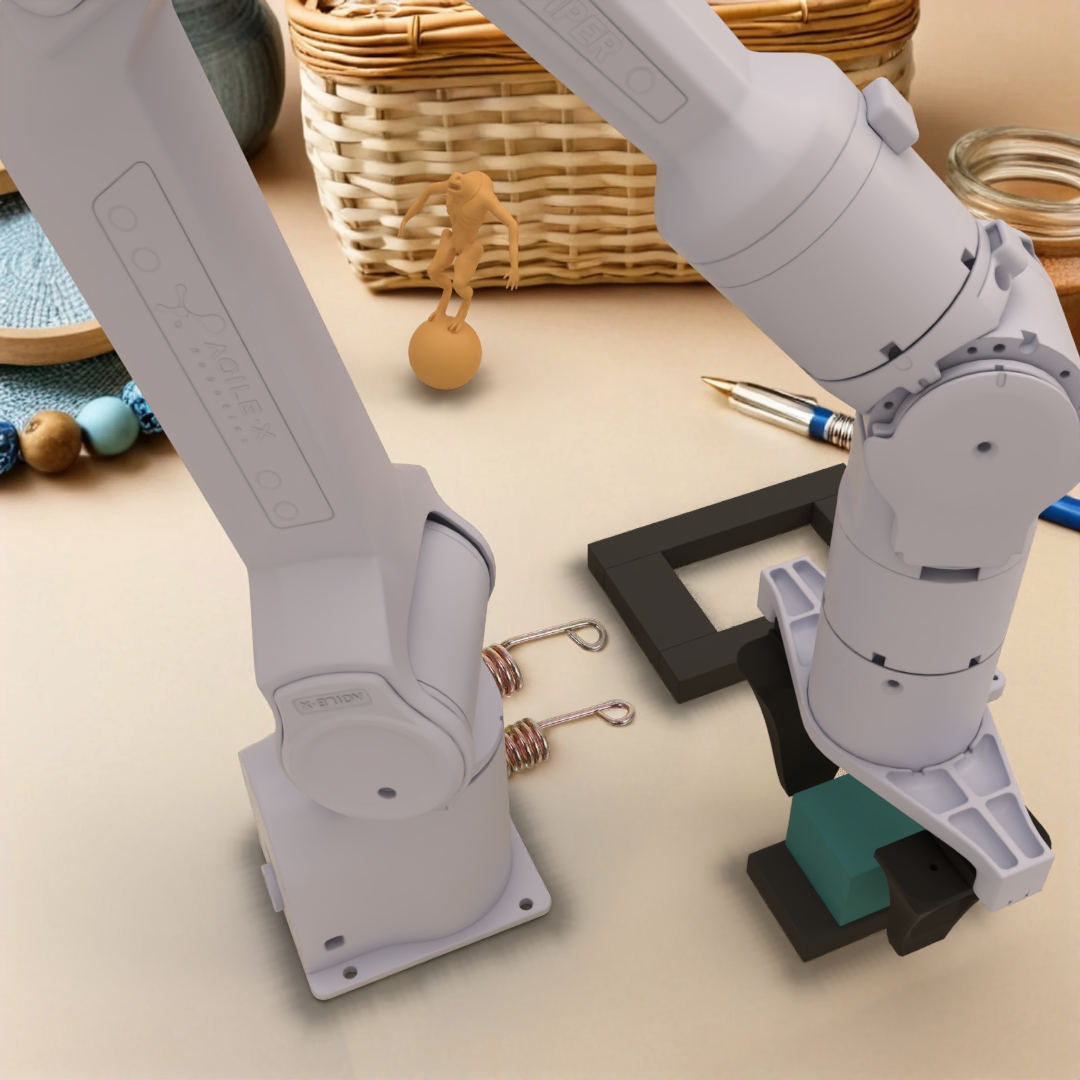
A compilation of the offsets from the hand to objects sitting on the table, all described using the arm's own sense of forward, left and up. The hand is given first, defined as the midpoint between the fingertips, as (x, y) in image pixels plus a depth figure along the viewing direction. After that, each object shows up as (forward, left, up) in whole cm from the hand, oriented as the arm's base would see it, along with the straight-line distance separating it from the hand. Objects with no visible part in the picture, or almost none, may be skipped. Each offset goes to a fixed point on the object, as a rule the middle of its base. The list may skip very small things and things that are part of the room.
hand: (859, 857), depth 55 cm
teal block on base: (0, 0, -2) cm, 2 cm away
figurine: (-2, +37, -2) cm, 37 cm away
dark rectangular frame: (+5, +16, -2) cm, 16 cm away
